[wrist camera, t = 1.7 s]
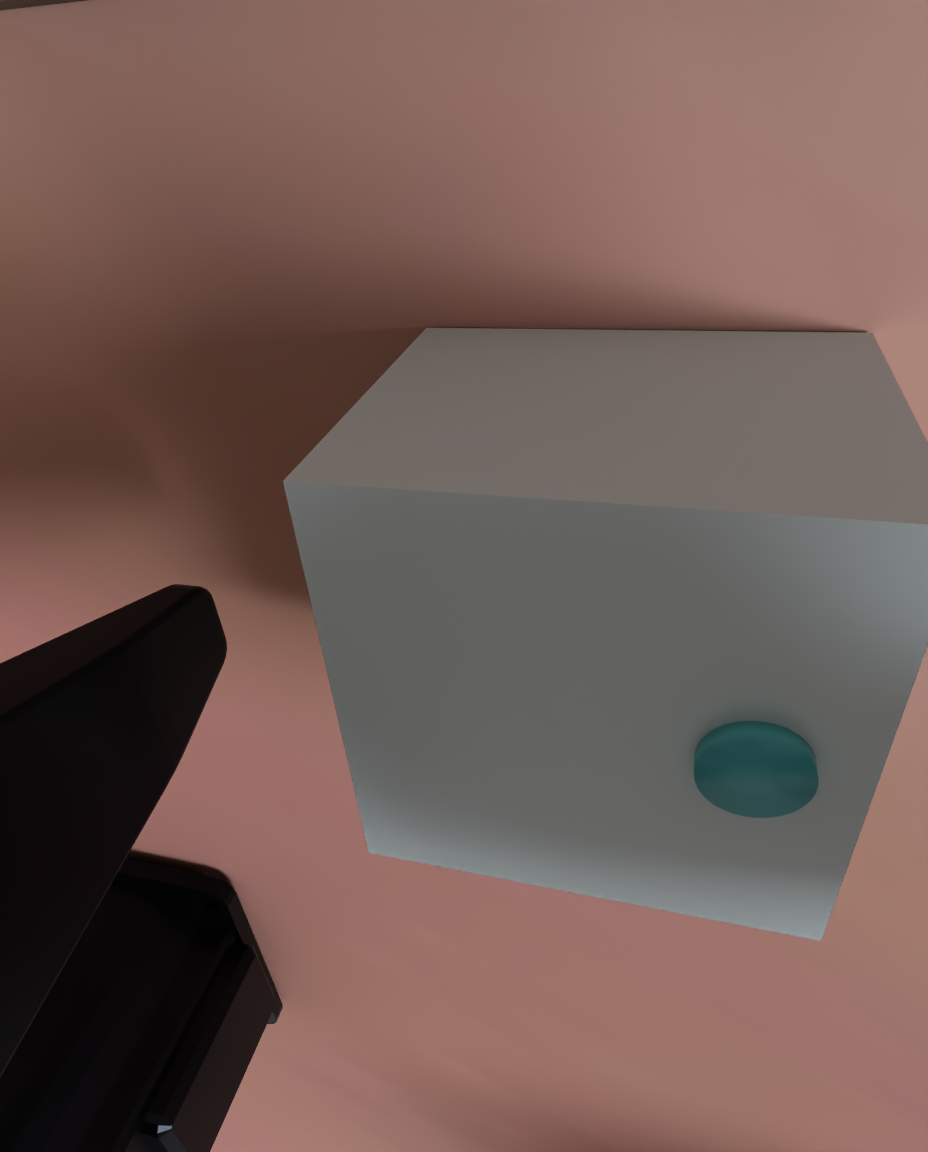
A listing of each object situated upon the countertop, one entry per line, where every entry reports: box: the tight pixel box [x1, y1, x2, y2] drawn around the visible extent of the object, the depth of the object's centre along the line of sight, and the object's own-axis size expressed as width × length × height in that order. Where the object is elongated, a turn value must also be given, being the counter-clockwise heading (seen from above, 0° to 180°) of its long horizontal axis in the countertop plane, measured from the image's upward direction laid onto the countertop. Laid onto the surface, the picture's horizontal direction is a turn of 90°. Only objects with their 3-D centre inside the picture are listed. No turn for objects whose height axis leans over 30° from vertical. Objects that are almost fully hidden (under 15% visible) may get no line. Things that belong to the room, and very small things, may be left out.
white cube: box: [283, 328, 928, 941], centre depth 9 cm, size 5×5×4 cm
